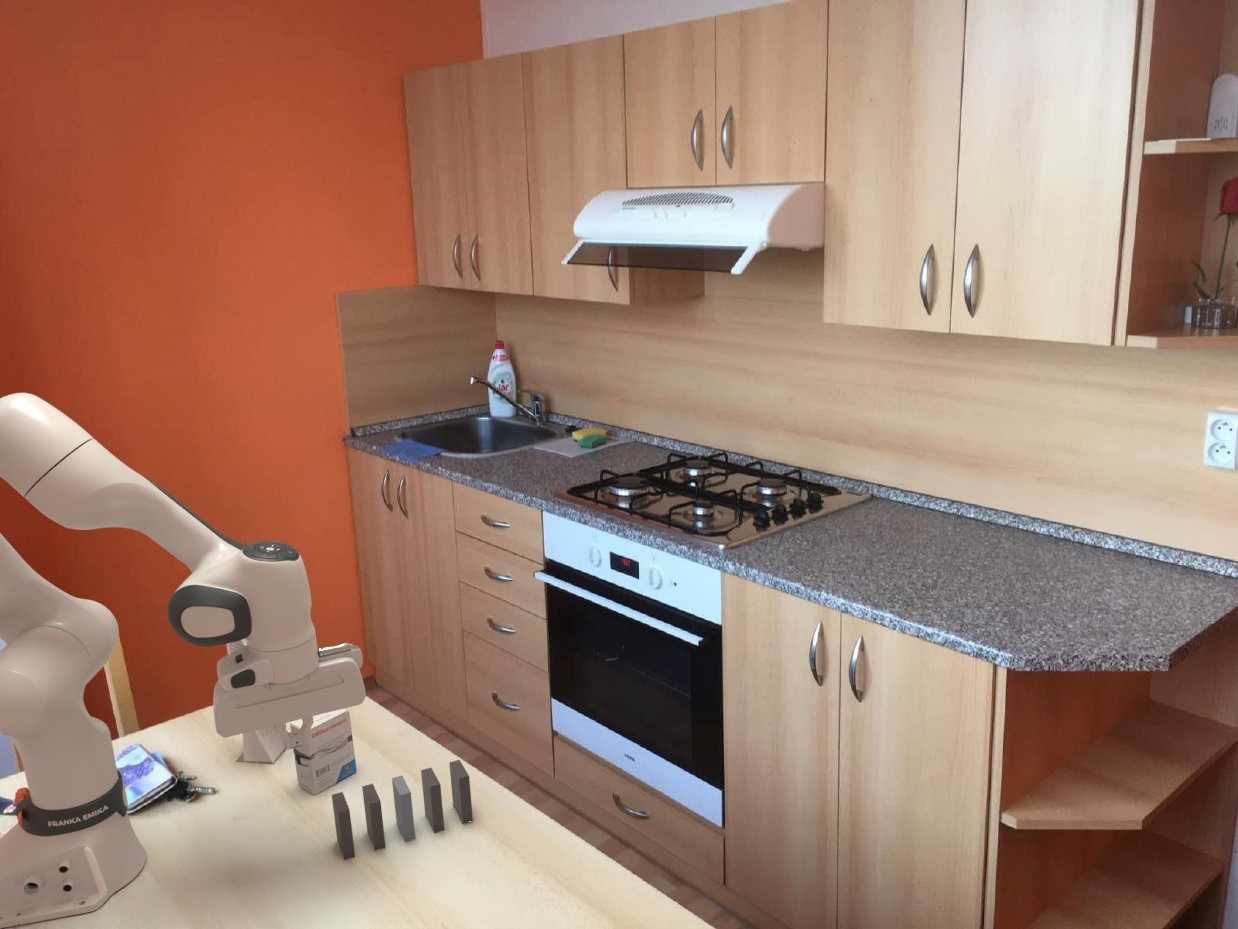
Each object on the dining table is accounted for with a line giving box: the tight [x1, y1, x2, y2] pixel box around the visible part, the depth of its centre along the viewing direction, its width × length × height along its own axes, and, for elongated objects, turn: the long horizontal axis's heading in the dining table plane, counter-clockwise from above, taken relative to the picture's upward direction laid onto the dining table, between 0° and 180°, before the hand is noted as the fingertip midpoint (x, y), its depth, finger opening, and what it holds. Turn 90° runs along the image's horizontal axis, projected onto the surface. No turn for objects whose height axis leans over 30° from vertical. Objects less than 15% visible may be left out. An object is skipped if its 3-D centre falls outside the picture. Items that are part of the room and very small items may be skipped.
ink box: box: [289, 708, 358, 796], centre depth 169 cm, size 8×5×12 cm, turn 141°
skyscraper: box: [226, 639, 287, 765], centre depth 175 cm, size 8×8×28 cm
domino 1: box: [331, 791, 356, 861], centre depth 152 cm, size 2×5×8 cm, turn 25°
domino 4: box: [420, 767, 445, 834], centre depth 158 cm, size 2×5×8 cm, turn 25°
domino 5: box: [449, 759, 474, 825], centre depth 160 cm, size 2×5×8 cm, turn 25°
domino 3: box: [391, 775, 416, 842], centre depth 156 cm, size 2×5×8 cm, turn 25°
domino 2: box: [361, 783, 386, 852], centre depth 154 cm, size 2×5×8 cm, turn 25°
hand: (296, 745), depth 146 cm, fingers closed
